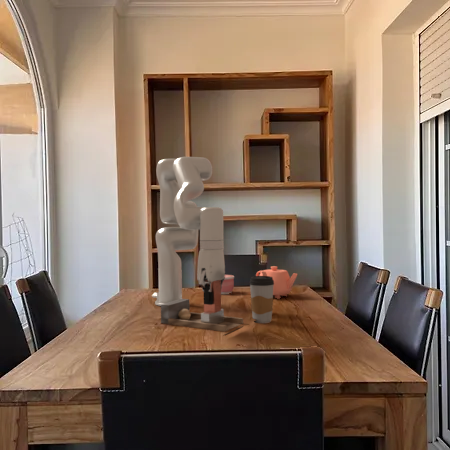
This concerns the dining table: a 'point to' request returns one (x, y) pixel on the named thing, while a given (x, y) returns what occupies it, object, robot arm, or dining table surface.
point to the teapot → (279, 280)
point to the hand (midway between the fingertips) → (212, 302)
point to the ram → (214, 306)
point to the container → (227, 284)
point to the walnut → (184, 314)
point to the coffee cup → (262, 298)
